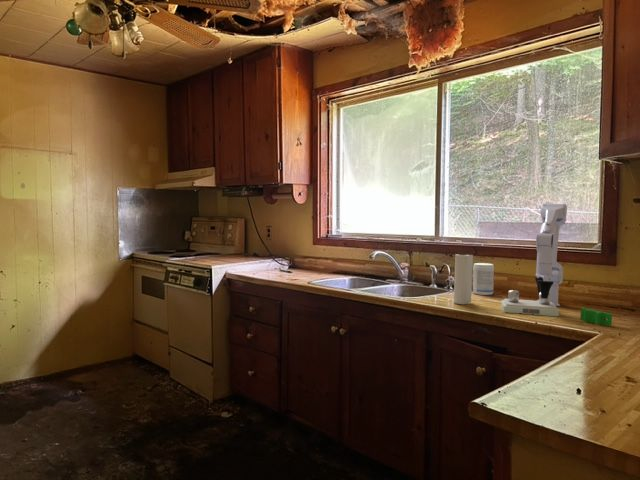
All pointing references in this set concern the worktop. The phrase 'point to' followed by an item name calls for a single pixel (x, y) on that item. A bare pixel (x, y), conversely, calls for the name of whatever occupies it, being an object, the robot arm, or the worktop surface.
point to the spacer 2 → (544, 300)
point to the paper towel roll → (463, 278)
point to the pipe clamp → (596, 317)
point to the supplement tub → (483, 278)
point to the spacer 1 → (513, 296)
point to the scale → (529, 308)
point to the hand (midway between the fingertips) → (542, 296)
